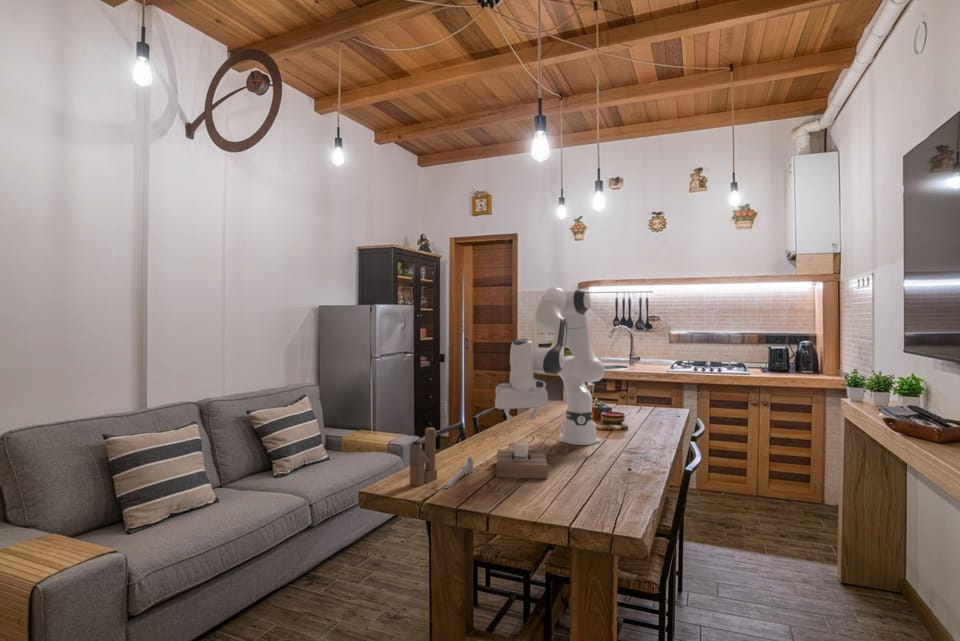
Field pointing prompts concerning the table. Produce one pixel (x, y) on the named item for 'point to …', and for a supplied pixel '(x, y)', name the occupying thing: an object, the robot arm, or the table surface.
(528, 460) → the socket block
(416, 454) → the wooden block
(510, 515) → the table surface
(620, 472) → the table surface
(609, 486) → the table surface
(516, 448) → the square peg
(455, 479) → the caliper
